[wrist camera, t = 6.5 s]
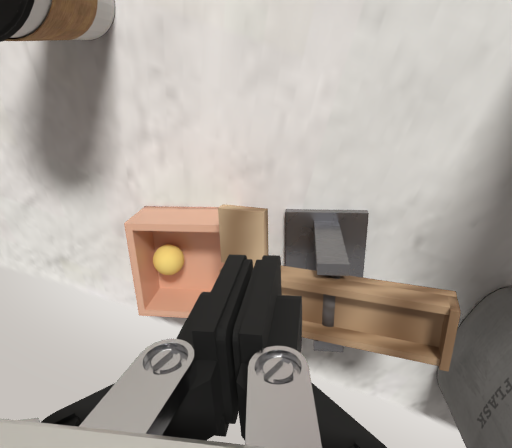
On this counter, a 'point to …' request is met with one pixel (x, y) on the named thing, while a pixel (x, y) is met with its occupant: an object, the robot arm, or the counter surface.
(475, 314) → the flask
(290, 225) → the pivot stand
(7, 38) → the coffee cup
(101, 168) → the counter surface
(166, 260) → the ball
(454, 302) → the lever
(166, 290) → the pink open box
